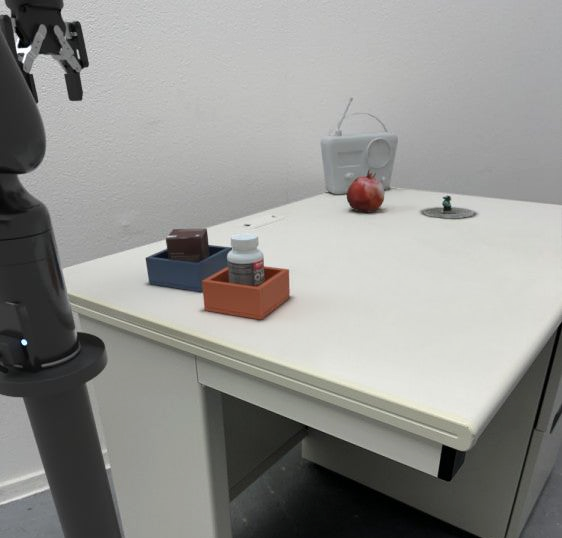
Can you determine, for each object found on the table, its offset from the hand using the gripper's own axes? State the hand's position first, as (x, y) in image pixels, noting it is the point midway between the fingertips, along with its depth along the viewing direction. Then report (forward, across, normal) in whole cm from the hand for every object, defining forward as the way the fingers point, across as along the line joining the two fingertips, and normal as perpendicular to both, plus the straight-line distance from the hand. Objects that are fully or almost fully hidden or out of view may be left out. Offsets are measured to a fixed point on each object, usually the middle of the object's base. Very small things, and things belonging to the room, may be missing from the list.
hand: (54, 102), depth 80 cm
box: (+28, -9, +15) cm, 33 cm away
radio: (+28, -95, +15) cm, 100 cm away
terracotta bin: (+28, -2, +30) cm, 41 cm away
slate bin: (+28, -9, +15) cm, 33 cm away
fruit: (+28, -70, +26) cm, 80 cm away
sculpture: (+28, -74, +46) cm, 91 cm away
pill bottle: (+28, -2, +30) cm, 41 cm away
